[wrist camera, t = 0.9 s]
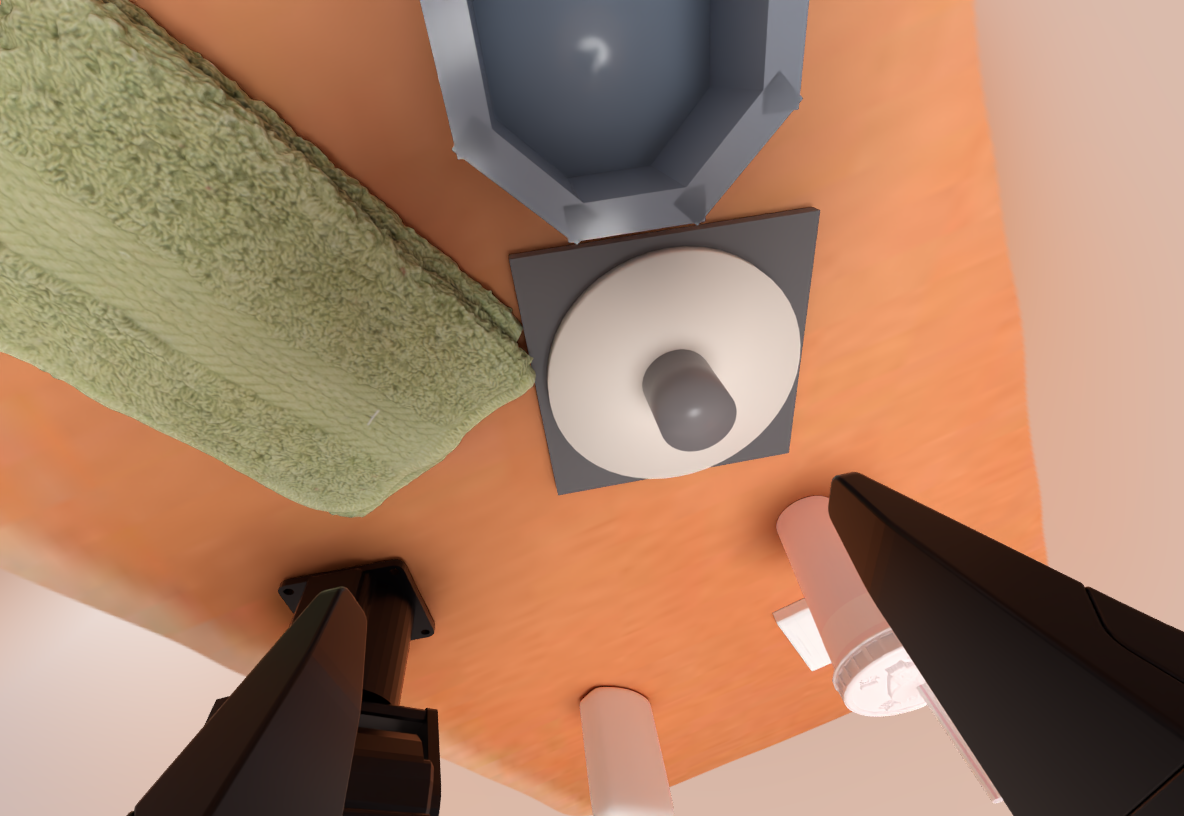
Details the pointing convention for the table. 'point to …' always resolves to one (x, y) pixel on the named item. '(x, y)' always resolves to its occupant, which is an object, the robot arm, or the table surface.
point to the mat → (569, 270)
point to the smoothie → (858, 628)
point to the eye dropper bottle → (623, 755)
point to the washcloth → (226, 269)
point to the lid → (672, 362)
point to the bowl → (616, 101)
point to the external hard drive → (803, 633)
